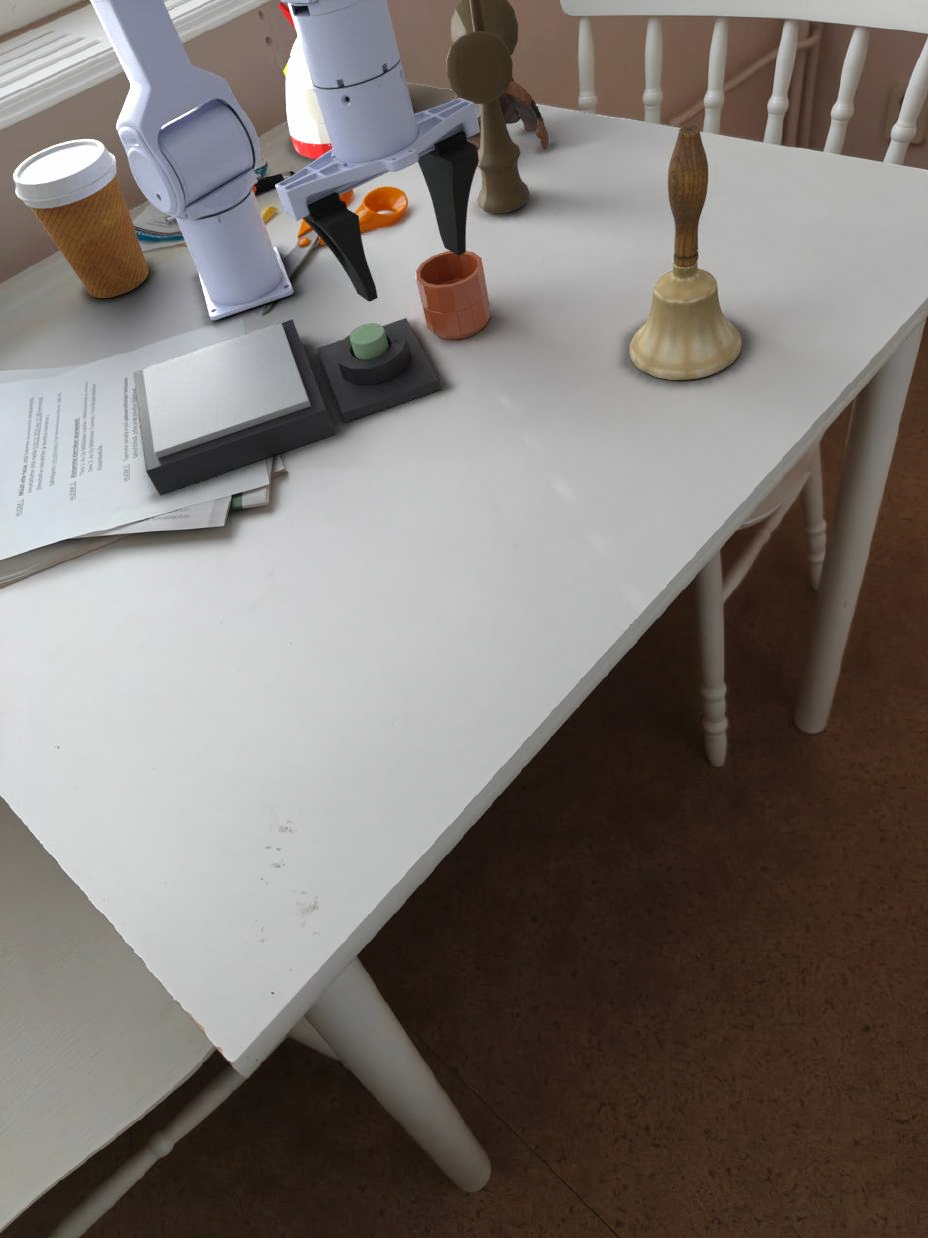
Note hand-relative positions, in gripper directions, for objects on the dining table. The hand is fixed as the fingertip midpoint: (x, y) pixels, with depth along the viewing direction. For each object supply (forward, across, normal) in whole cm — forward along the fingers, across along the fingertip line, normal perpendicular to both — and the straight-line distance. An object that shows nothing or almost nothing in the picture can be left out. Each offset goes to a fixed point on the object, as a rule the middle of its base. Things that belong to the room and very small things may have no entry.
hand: (412, 272), depth 68 cm
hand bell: (+10, +15, -12) cm, 21 cm away
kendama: (+8, +19, +18) cm, 27 cm away
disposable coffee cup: (+6, -15, +38) cm, 41 cm away
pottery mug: (+7, +26, +29) cm, 40 cm away
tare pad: (+8, -4, +4) cm, 10 cm away
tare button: (+6, -4, +3) cm, 8 cm away
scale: (+8, -15, +8) cm, 19 cm away
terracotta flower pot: (+8, +5, +4) cm, 11 cm away
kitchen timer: (+6, +17, +48) cm, 51 cm away
